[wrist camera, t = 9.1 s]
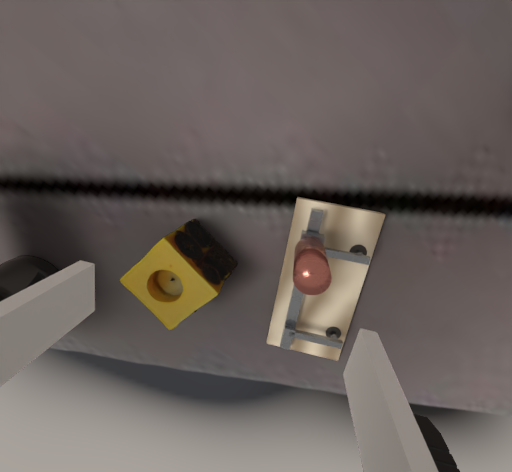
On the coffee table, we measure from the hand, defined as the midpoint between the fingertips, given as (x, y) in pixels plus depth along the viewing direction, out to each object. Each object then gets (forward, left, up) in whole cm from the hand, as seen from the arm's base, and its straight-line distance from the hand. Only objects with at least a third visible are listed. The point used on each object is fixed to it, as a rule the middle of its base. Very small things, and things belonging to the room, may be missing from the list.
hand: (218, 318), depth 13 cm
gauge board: (+9, -11, -28) cm, 32 cm away
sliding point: (+9, -4, -27) cm, 29 cm away
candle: (-11, -11, -29) cm, 33 cm away
